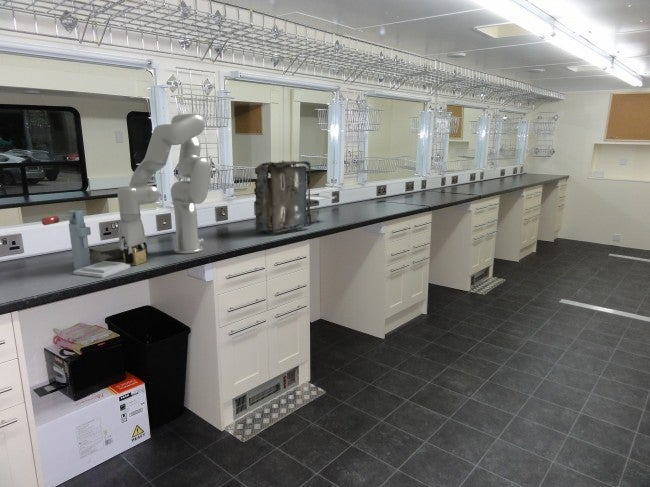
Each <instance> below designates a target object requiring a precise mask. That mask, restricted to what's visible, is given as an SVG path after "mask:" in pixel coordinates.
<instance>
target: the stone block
mask: <svg viewBox="0 0 650 487" xmlns="http://www.w3.org/2000/svg"><path fill="white" fill-rule="evenodd" d="M119 244H120V243H118V244H112V245H104V246H97V247H91V248H88V249H89V257H90V259H93V260H95V261H98V262H102V261H110V262H115V261H119V260H124V256H123V252H122V251H121V250H120V249H119V248H118V246H119ZM132 248H136V249H138V248H137V246H133V247H132ZM127 250H128V248H127ZM144 250H145V251H146V255H147V254H148V244H146V245H145V249H144Z"/></svg>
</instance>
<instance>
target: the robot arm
mask: <svg viewBox="0 0 650 487" xmlns="http://www.w3.org/2000/svg"><path fill="white" fill-rule="evenodd" d="M205 127H206V122H205V119H204V118H203V116H201V115H200V114H198V113H183V114H176V115H174V116H173V117H172V118H171V121H170V123H164V124H159V125H156V126H155V127H154V129H153V130H152V134H151V137H150V140H149V143H148V147H147V150H146V153H145V156H144V159H143V160H142V161H141V162H140V163H139V165H137V167H136V168H135V170H134V172H133V173H132V176H131V178H130V182H129V186H123V187H122V186H120V187H119V188H117V191H116V192H117V200H118V209H119V211H118V212H119V216H120V217H119V218H120V222H119V223H118V241H119V243H118V244H119V246H118V248H119V249H120V250H121V251H122V252H123V254H125V261H126V263H130V264H132V263H133V258H132V254H131V249H132V247H133V246H137V248H138V249H142V250H144V249H145V245H147V241H148V237H147V236H146V235H145V228H144V223H143V221H142V217H141V216H142V214H141V209H140V208H141V207H140V204H141V205H142V204H149V205H150V204H154V203H156V202H157V201H158V200H159V199H160V193H161V192H160V191H159V189H158V188H157V187H156V186H154V185H151V184H149V180H150V179H151V178H152V176H153V175H154V174H156V173H157V172H158V171H160V170H161V169H163V168H164V167H165V166H166V165H167V162H168V159H169V155H170V152H171V149H172V147H173V146H179V145H180V150H179V151H180V152H179V156H178V162H177V163H178V164H177V173H178V174H179V176H180V177H182V178H185V179H189V180H178V181H176V182H174V183H173V184H172V186H171V187H170V197H171V200H172V205H173V211H174V222H175V236H176V247H174V248H173V252H174V253H176V254H194V253H199V252H201V251H203V249H204V248H203V246H202V245H200V244H201V243H204V242H205V240H204V238H199V227H198V214H197V207H196V205H199V204H202V203H203V202H204V201H205V200H206V198H207V197H208V194H209V186H210V181H211V174H212V168H211V165H210V164H211V163H210V161H208V160H207V158H205V157H203V156H201V148H202V146H201V141H200V139H199V135H201V134H202V133H203V132H204V130H205ZM127 248H128V250H127Z"/></svg>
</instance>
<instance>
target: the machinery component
mask: <svg viewBox="0 0 650 487" xmlns="http://www.w3.org/2000/svg"><path fill="white" fill-rule="evenodd" d="M299 164H301V165H302V164H303V165H302V166H300V165H299ZM297 165H299V166H297ZM304 165H305V166H304ZM311 167H312V166H311V163H310V162H309V161H306V160H305V161H303V160H302V161H297V160H281V161H267V162H266V161H265V162H264V163H263V162H262V163H261V164H260V163H259V165H258V166H256V167H255V168H254V174H255V175H256V180H254V186H255V188H253V194H254V195H255V200H254V205H255V231H260V232H261V233H266V234H269V233H273V234H277V235H278V234H282V233H284V234H288V233H289V231H292V230H294V231H295V230H297V229H298V230H299V229H302V228H305V227H310V226H312V222H311V214H310V211H311V201H310V195H311ZM269 174H270V177H269ZM306 194H308V197H307V200H306V196H307V195H306ZM306 211H308V212H307V213H306ZM296 212H297V213H296ZM307 214H308V216H309V222H307Z"/></svg>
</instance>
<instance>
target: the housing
mask: <svg viewBox="0 0 650 487" xmlns="http://www.w3.org/2000/svg"><path fill="white" fill-rule="evenodd" d="M131 254H132V258H133V263H132V264H130V263H126V261H125V254H123V256H124V259H123V263H125V264H129V265H130V266H138V265H141V264H143V263H146V262H147V260H148V259H147V254H146V251H145V250H142V249H136V248H132V249H131Z"/></svg>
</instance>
